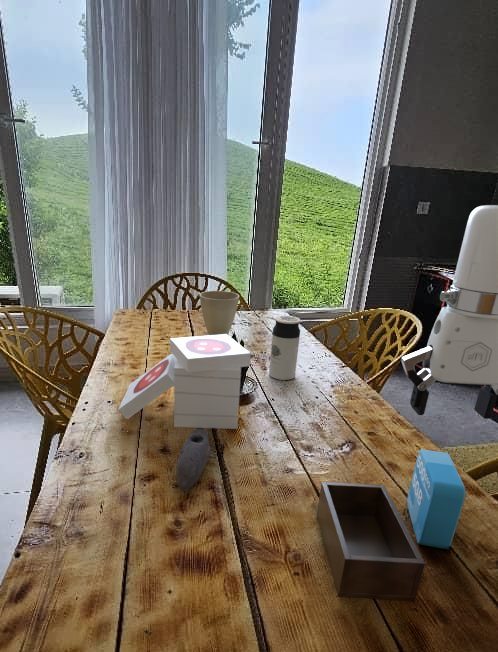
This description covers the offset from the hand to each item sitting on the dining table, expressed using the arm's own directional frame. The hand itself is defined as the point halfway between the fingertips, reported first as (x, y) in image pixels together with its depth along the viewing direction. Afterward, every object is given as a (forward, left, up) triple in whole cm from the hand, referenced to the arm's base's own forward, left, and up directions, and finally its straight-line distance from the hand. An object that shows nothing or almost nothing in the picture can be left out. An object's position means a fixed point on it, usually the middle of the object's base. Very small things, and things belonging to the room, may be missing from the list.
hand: (449, 412), depth 67 cm
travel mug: (+17, -65, -22) cm, 71 cm away
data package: (-1, 0, -22) cm, 22 cm away
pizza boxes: (+44, -37, -22) cm, 62 cm away
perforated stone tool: (+40, -11, -22) cm, 47 cm away
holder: (+12, +7, -22) cm, 26 cm away
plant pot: (+38, -103, -22) cm, 112 cm away
